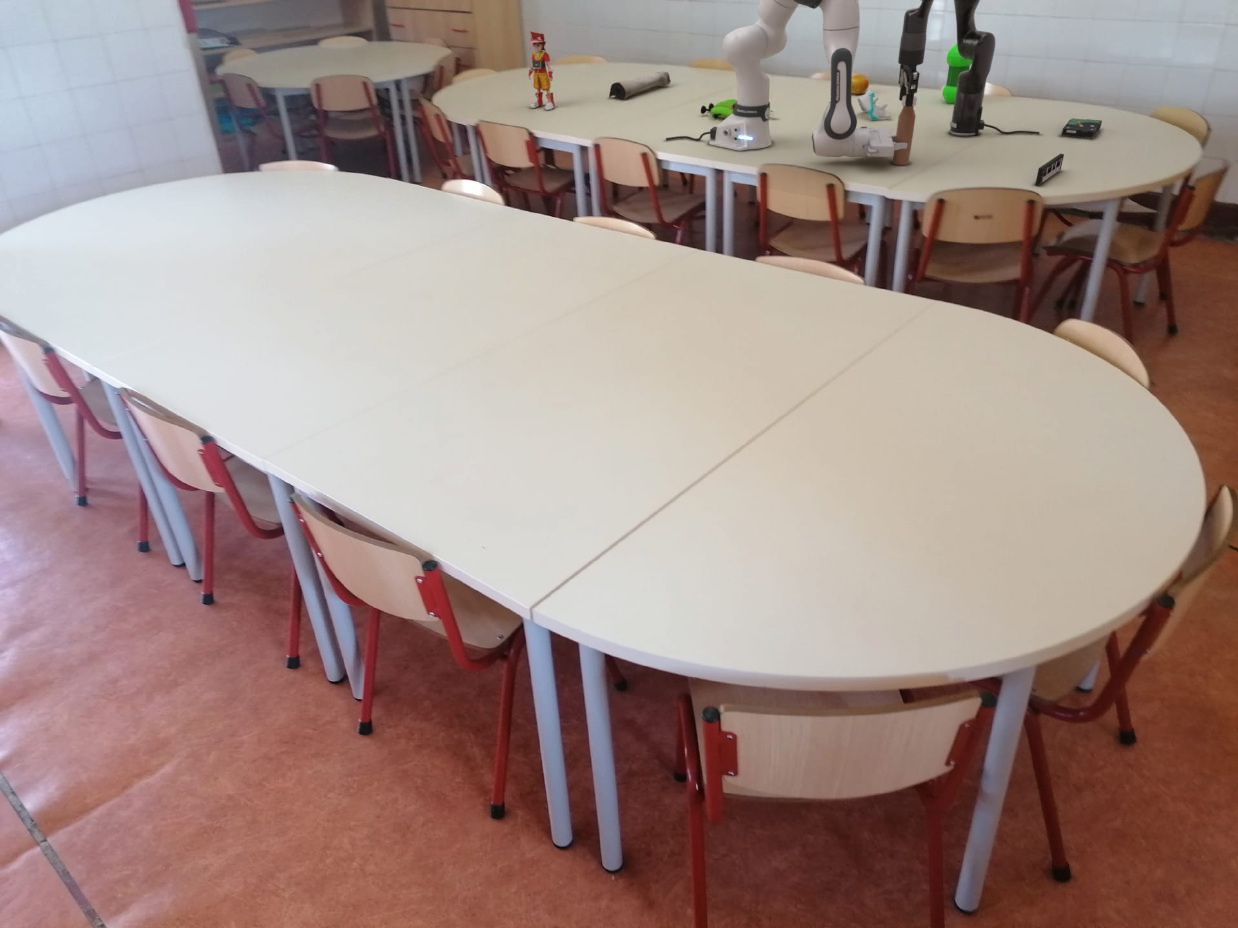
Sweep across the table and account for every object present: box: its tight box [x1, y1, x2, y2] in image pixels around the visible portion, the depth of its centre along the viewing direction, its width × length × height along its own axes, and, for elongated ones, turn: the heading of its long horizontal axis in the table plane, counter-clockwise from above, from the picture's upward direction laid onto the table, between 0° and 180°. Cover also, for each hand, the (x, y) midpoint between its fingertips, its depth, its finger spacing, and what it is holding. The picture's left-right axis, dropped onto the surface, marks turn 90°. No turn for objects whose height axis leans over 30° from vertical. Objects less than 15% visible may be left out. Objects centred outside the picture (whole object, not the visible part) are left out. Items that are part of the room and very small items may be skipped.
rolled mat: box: [608, 71, 672, 101], centre depth 395 cm, size 30×9×10 cm
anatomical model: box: [857, 89, 892, 121], centre depth 341 cm, size 15×10×10 cm
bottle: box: [892, 105, 917, 166], centre depth 289 cm, size 5×5×20 cm
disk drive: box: [1061, 117, 1103, 139], centre depth 311 cm, size 10×3×15 cm
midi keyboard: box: [1035, 153, 1065, 186], centre depth 273 cm, size 18×1×5 cm, turn 138°
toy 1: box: [527, 31, 556, 111], centre depth 374 cm, size 12×9×30 cm
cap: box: [901, 95, 918, 107], centre depth 284 cm, size 4×4×2 cm
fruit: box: [851, 74, 870, 95], centre depth 372 cm, size 8×8×8 cm
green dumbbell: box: [942, 43, 972, 104], centre depth 348 cm, size 10×10×25 cm
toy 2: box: [700, 99, 777, 120], centre depth 353 cm, size 28×5×30 cm
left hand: (906, 142), depth 291 cm, fingers closed on bottle, 5 cm apart
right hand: (905, 103), depth 285 cm, fingers open, 7 cm apart
